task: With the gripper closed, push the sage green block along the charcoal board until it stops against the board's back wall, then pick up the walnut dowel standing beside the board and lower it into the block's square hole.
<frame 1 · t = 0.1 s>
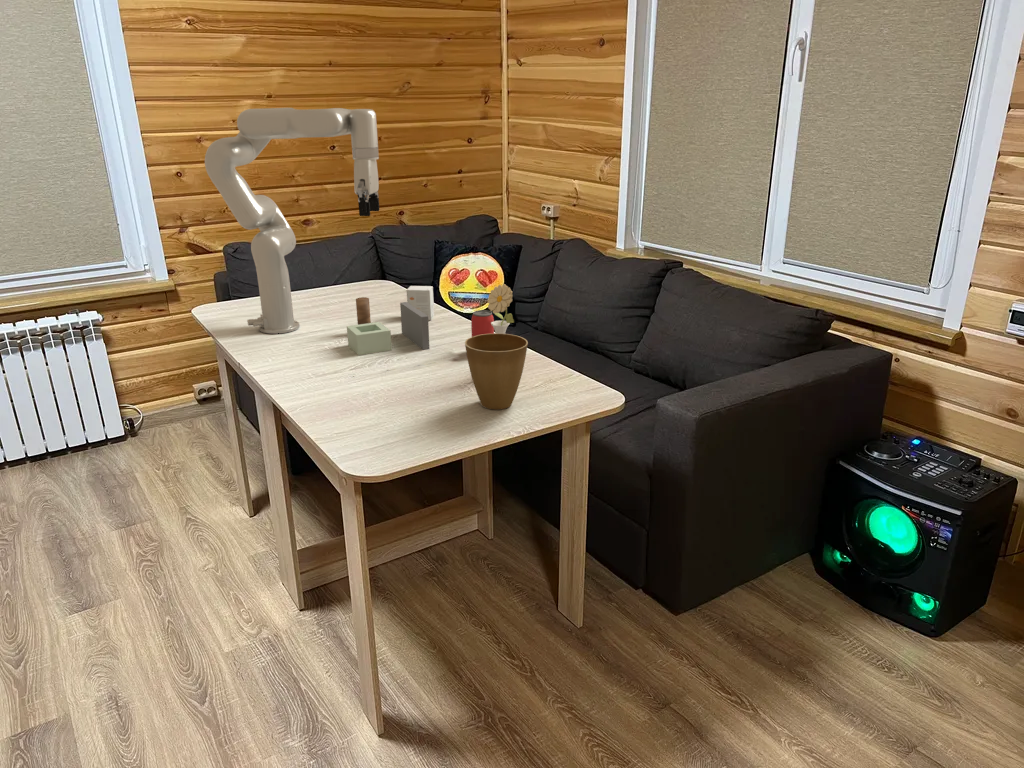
hand: (369, 213, 225), 37 cm above the table, tool pointing down, fingers open, 9 cm apart
beer can: (483, 352, 220), on the table
flower in vase: (501, 373, 204), on the table
plant pot: (496, 404, 183), on the table
small box: (421, 318, 253), on the table
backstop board: (383, 349, 222), on the table
sage block: (369, 338, 219), point 4 cm above the table, slide at 0.0 cm
walnut dowel: (365, 336, 234), on the table
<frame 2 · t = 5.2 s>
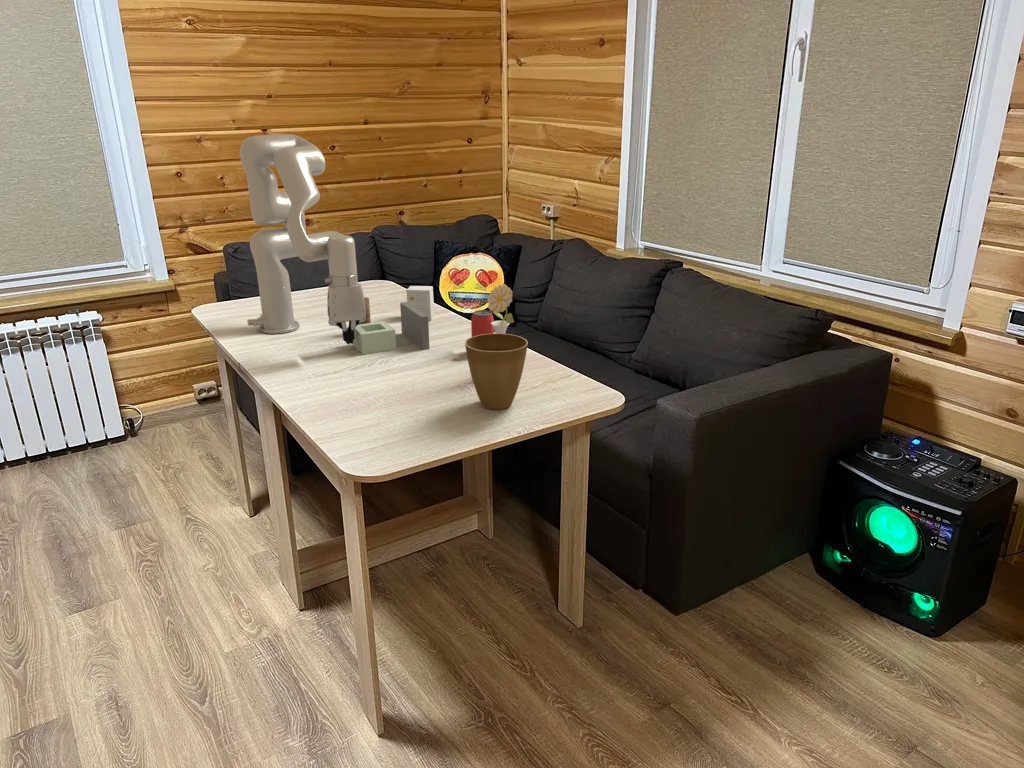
hand: (349, 342, 216), 4 cm above the table, tool pointing down, fingers closed
sage block: (373, 337, 219), point 4 cm above the table, slide at 1.4 cm, touching gripper
everything else where it was.
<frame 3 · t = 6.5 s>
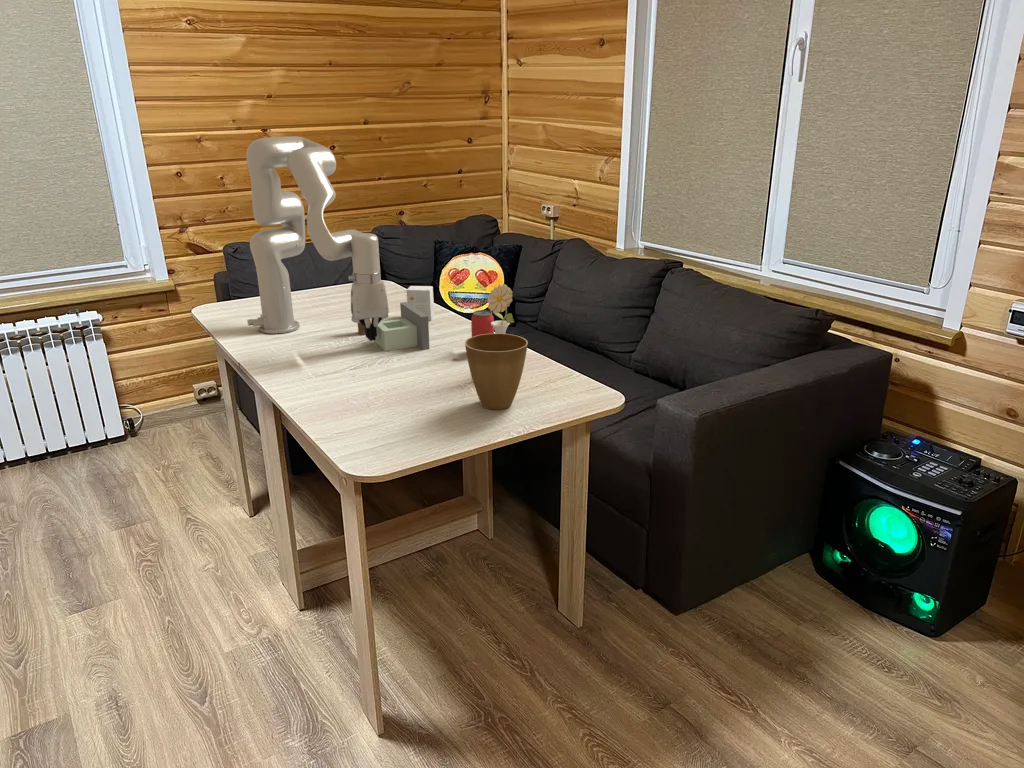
hand: (371, 339, 219), 4 cm above the table, tool pointing down, fingers closed
sage block: (395, 334, 222), point 4 cm above the table, slide at 8.1 cm, touching gripper
everything else where it was.
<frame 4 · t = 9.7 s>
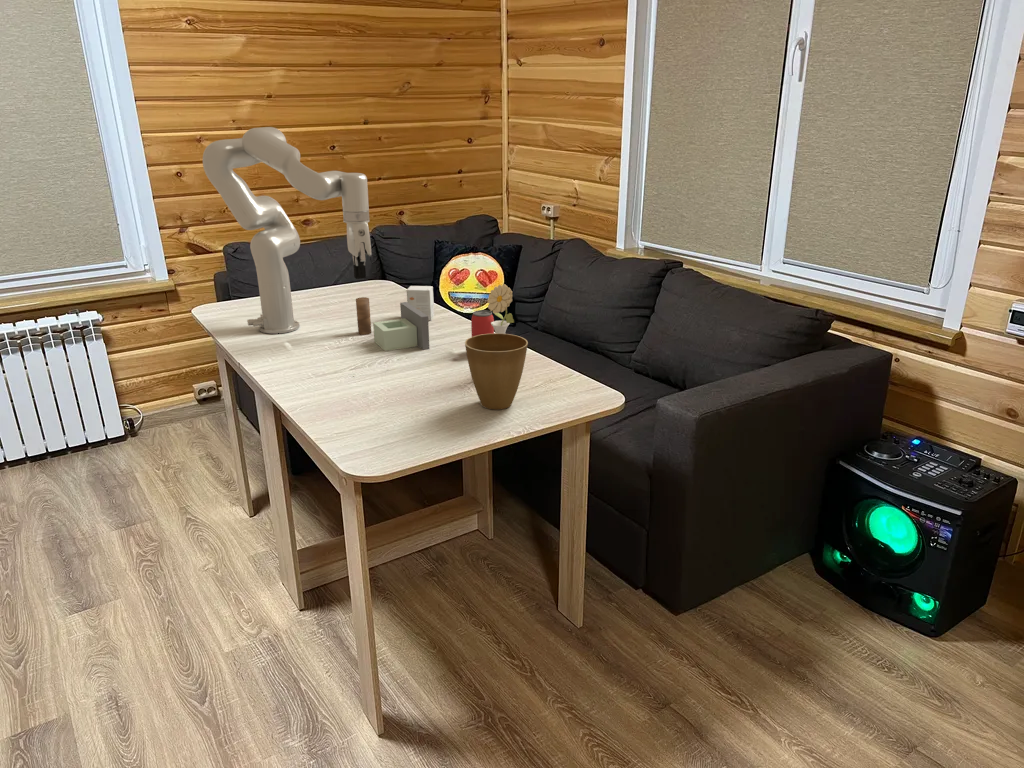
hand: (360, 277, 226), 19 cm above the table, tool pointing down, fingers closed
sage block: (395, 334, 222), point 4 cm above the table, slide at 8.0 cm
everything else where it was.
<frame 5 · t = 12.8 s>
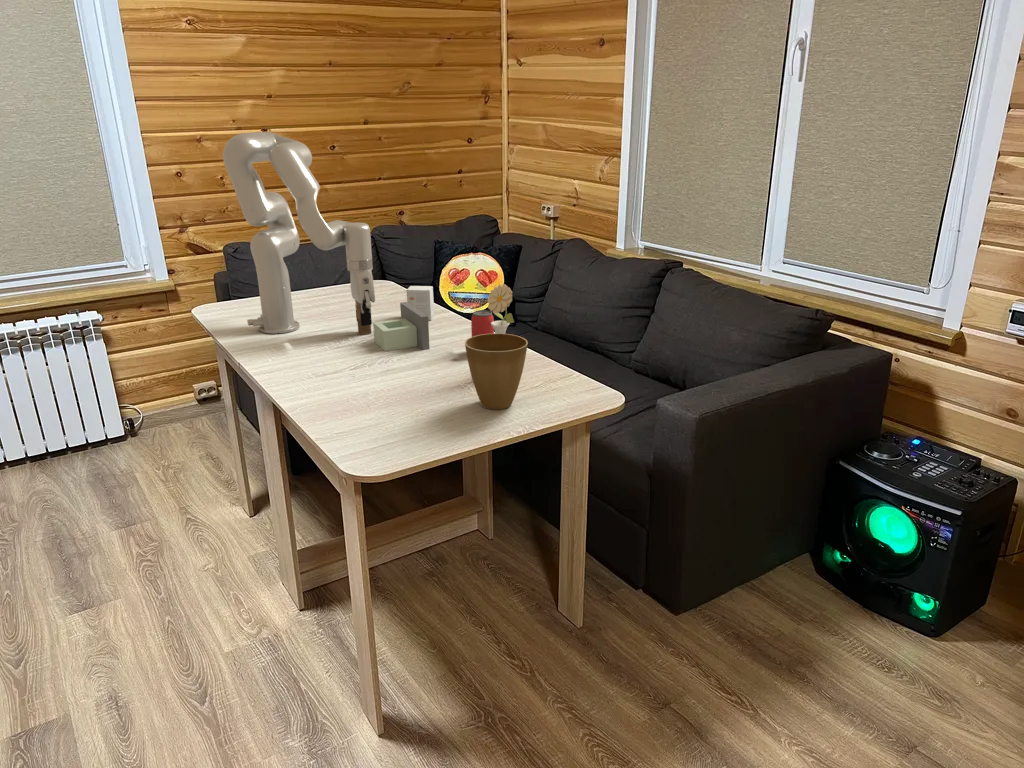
hand: (364, 322, 232), 4 cm above the table, tool pointing down, fingers closed on walnut dowel, 4 cm apart
walnut dowel: (365, 336, 234), on the table, touching gripper
everything else where it was.
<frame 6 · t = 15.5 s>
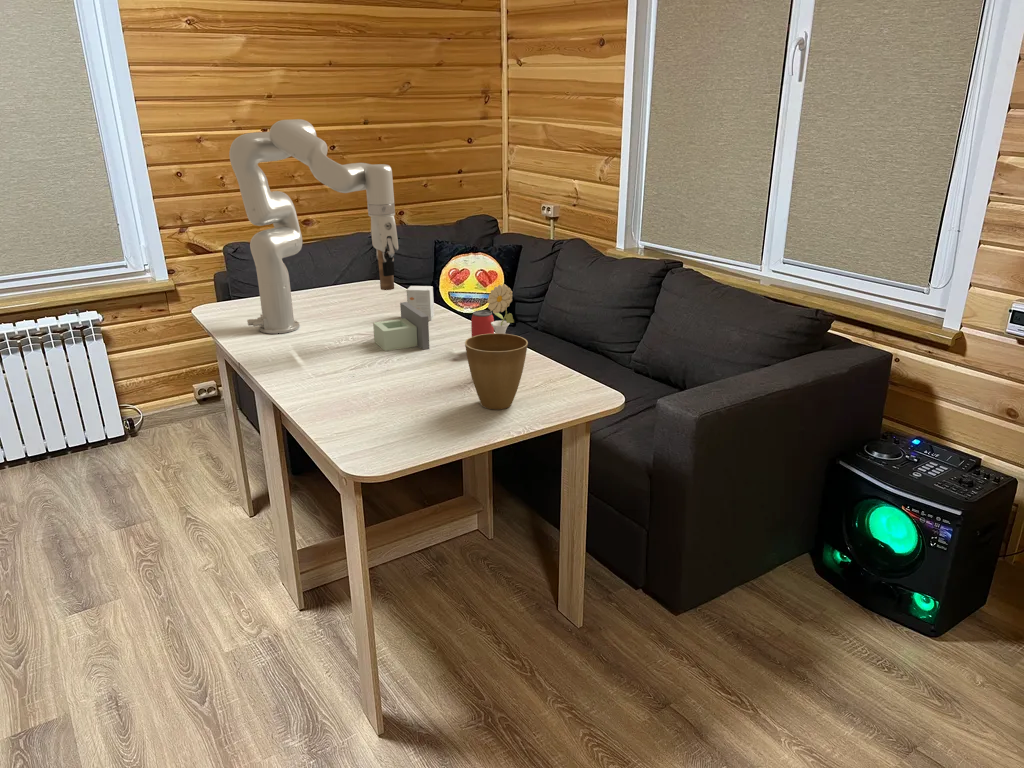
hand: (386, 273, 218), 22 cm above the table, tool pointing down, fingers closed on walnut dowel, 4 cm apart
walnut dowel: (387, 288, 219), point 18 cm above the table, touching gripper
everything else where it was.
when the fingers open (8 cm above the table, at t = 18.6 s): walnut dowel drops 1 cm, resting on sage block.
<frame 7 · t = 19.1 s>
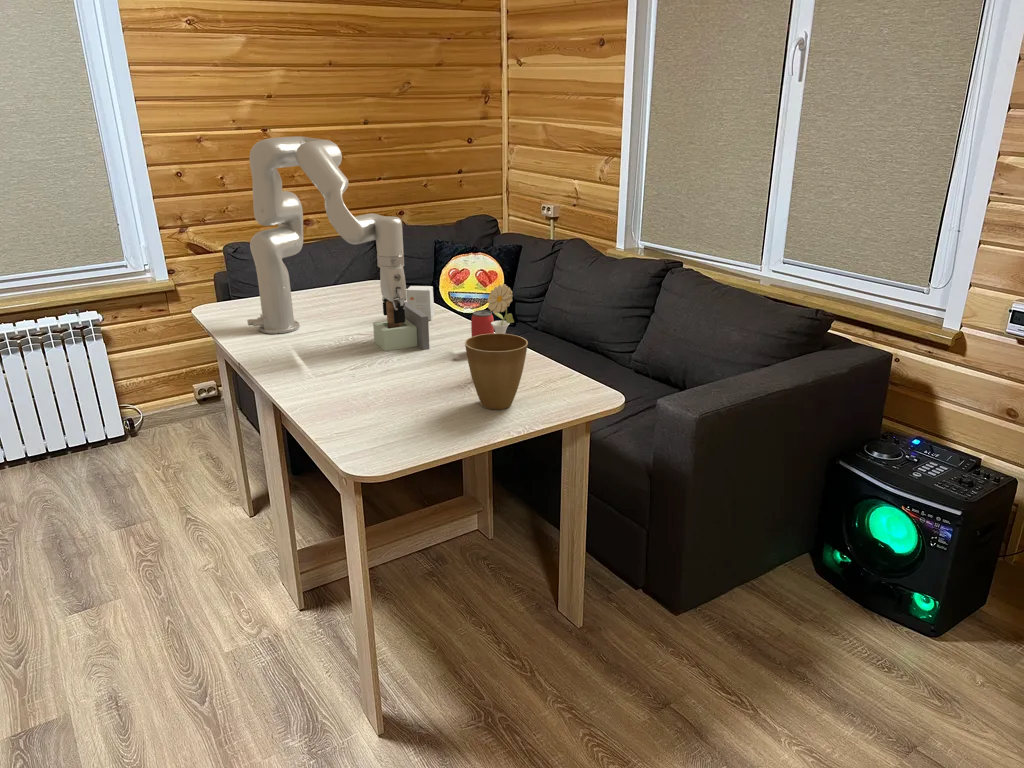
hand: (394, 318, 220), 9 cm above the table, tool pointing down, fingers open, 9 cm apart
sage block: (395, 334, 222), point 4 cm above the table, slide at 8.0 cm, touching walnut dowel
walnut dowel: (395, 340, 223), point 2 cm above the table, touching sage block
everything else where it was.
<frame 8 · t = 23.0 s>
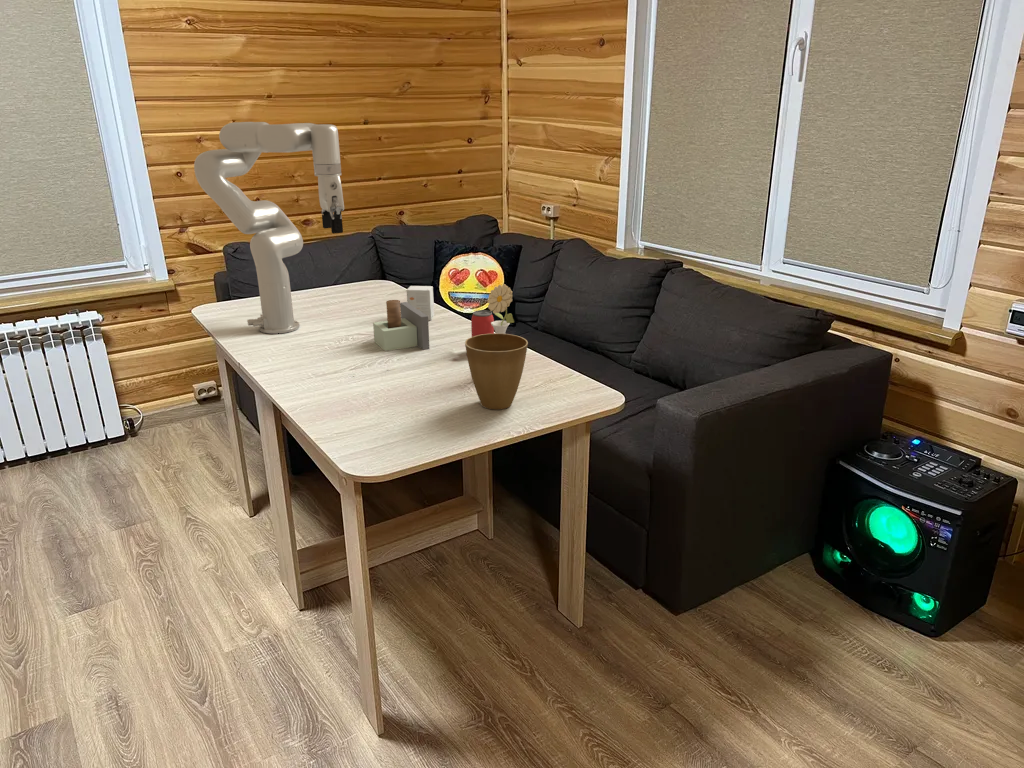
hand: (332, 230, 220), 33 cm above the table, tool pointing down, fingers open, 9 cm apart
nothing on the table moved.
at the end: sage block slide at 8.0 cm; walnut dowel 0.1 cm off-centre on the sage block, point 1.0 cm above the sage block's base; walnut dowel tilted 0° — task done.
